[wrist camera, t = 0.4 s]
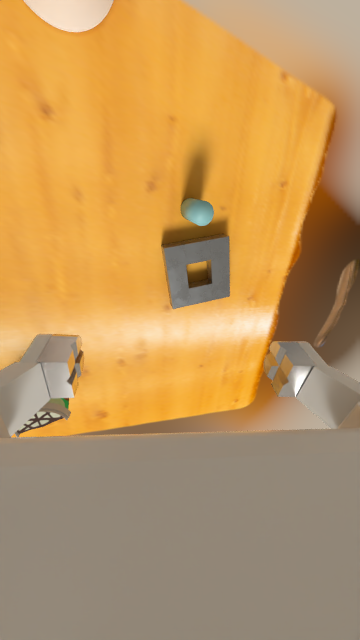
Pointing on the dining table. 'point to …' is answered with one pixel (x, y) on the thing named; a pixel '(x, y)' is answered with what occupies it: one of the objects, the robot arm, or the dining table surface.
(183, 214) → the teal peg
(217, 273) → the socket block
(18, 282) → the dining table surface
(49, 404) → the food container
